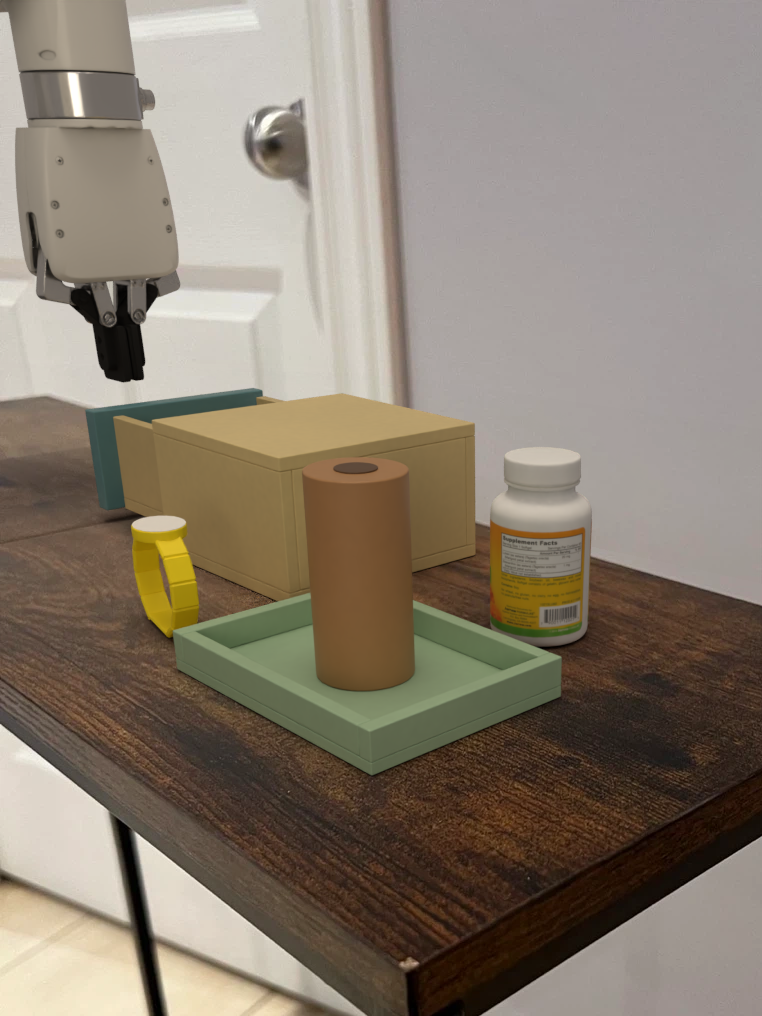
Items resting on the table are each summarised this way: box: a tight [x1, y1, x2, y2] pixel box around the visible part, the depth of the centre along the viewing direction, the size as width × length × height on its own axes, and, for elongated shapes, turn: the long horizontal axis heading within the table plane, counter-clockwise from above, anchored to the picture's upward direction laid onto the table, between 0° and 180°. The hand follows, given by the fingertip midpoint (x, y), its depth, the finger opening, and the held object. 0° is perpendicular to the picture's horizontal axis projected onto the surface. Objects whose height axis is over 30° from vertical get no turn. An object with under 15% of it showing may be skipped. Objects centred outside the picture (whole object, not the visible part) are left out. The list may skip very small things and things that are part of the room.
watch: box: [130, 516, 200, 639], centre depth 61 cm, size 6×3×6 cm, turn 36°
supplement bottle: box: [489, 446, 593, 648], centre depth 61 cm, size 5×5×10 cm
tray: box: [172, 593, 563, 776], centre depth 56 cm, size 16×12×2 cm
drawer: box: [84, 387, 284, 518], centre depth 81 cm, size 17×13×7 cm
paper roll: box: [302, 457, 415, 691], centre depth 54 cm, size 5×5×10 cm
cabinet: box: [152, 392, 476, 602], centre depth 73 cm, size 14×15×9 cm
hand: (124, 378), depth 87 cm, fingers closed
